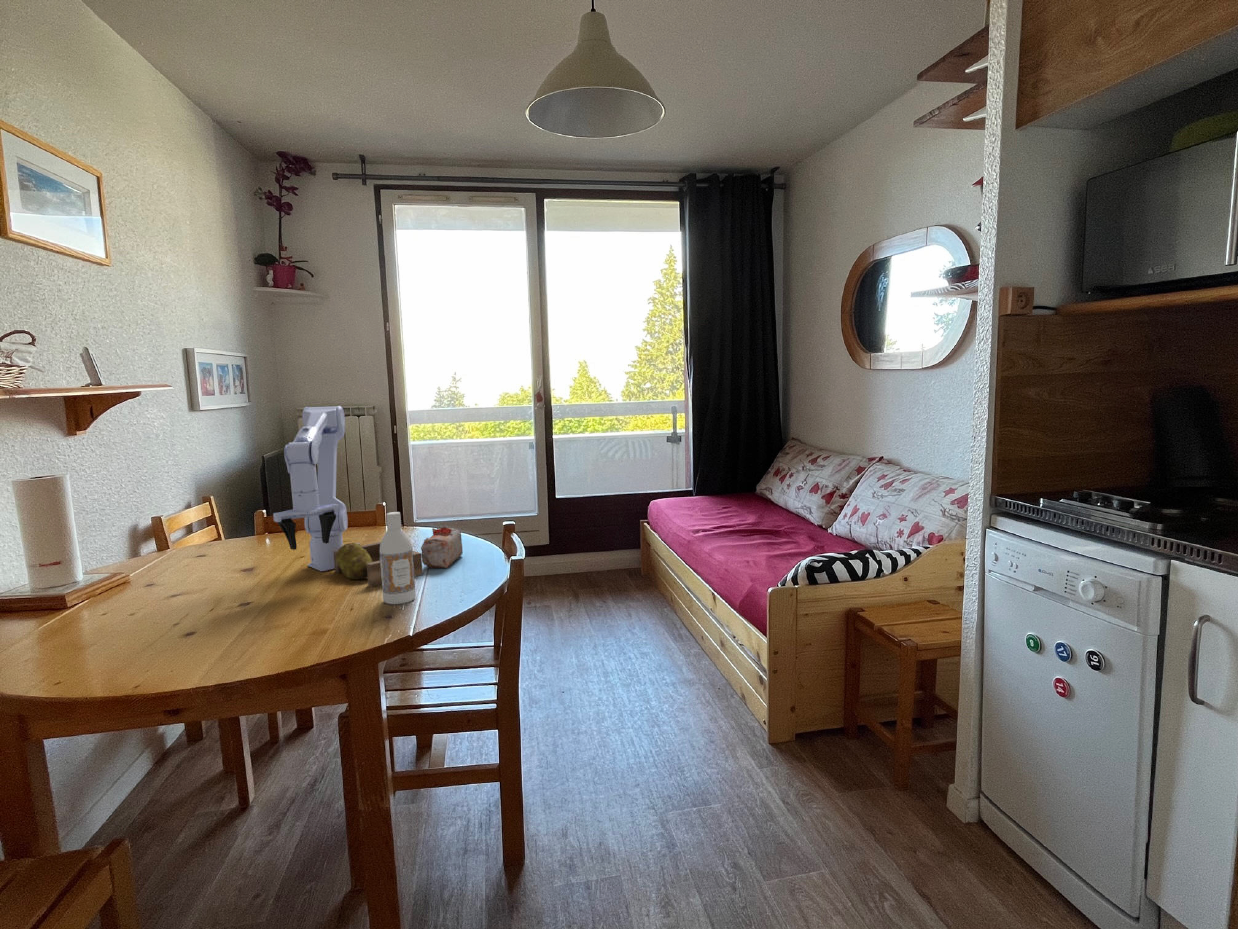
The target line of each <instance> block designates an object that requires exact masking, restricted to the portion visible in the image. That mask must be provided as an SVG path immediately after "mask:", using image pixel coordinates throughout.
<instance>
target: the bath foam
mask: <svg viewBox="0 0 1238 929" xmlns="http://www.w3.org/2000/svg"><path fill="white" fill-rule="evenodd" d="M401 517H402V516H401V512H400V511H393V512H391V511H390V512H387V513H386V526H387V530H386V531H385V533H384V535H383V537H382V538H381V541H380V542H381V544H380V565H381V577H382V585H381V588H382V589H381V590H382V599H383V602H384V603H385V604H388V605H402V604H406V603H410V602H412V601H413V600H415V598H416V582H415V581H416V580H415V576H414V565H413V551H414V550H413V546H412V541H411V539H410V538H409V536H408V535H407V534H406V532H405V531H404V529H402V520H401V519H402V518H401Z"/></svg>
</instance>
